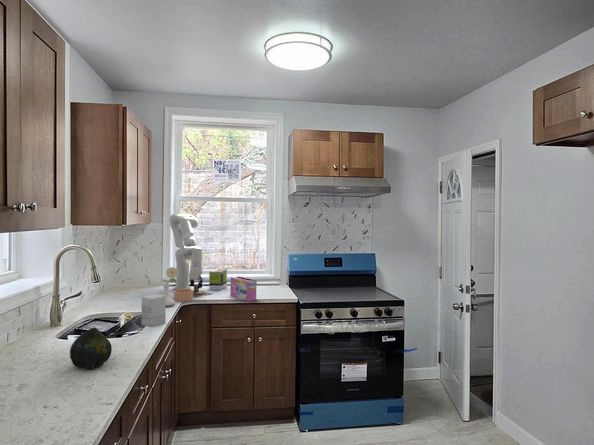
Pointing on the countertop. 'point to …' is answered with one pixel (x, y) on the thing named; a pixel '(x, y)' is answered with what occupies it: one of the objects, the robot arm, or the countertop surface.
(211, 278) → the tea box
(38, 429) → the countertop surface
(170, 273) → the flower in vase
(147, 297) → the grey canister
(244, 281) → the gum box
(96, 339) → the squash
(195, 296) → the mat
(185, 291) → the bowl
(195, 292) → the lid
